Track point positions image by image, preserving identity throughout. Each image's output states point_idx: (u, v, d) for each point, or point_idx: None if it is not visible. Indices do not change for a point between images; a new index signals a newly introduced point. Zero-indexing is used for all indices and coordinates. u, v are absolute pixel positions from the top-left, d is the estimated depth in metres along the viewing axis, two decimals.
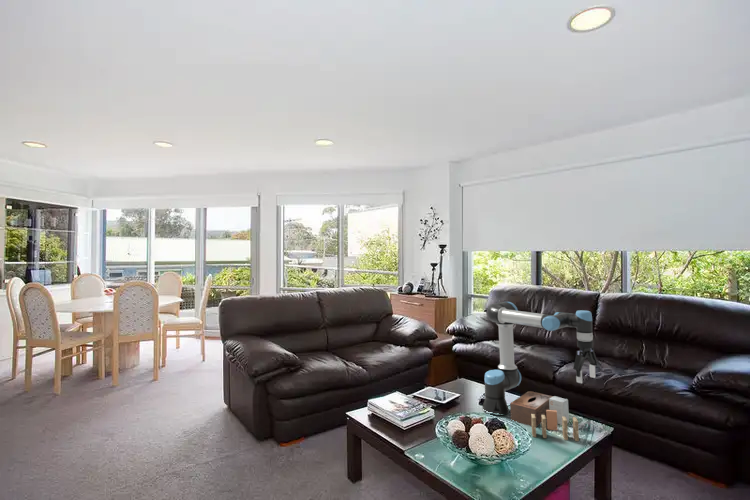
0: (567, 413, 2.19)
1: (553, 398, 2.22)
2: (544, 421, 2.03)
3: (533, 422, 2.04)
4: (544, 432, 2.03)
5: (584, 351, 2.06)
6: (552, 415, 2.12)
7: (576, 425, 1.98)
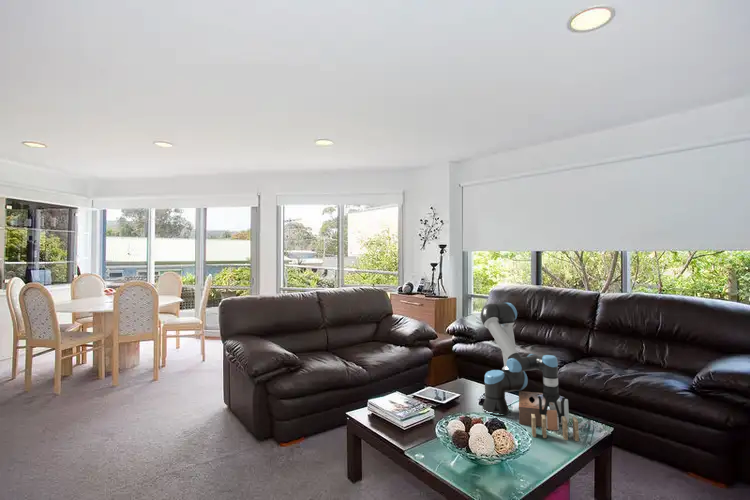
0: (567, 413, 2.19)
1: None
2: (544, 421, 2.03)
3: (533, 422, 2.04)
4: (544, 432, 2.03)
5: (545, 394, 2.12)
6: (552, 415, 2.12)
7: (576, 425, 1.98)
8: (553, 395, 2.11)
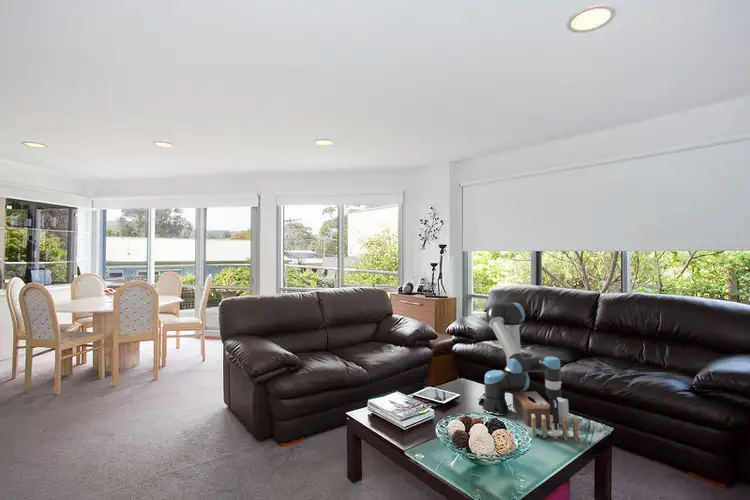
0: (567, 413, 2.19)
1: None
2: (544, 421, 2.03)
3: (533, 422, 2.04)
4: (544, 432, 2.03)
5: (556, 400, 2.01)
6: None
7: (576, 425, 1.98)
8: None
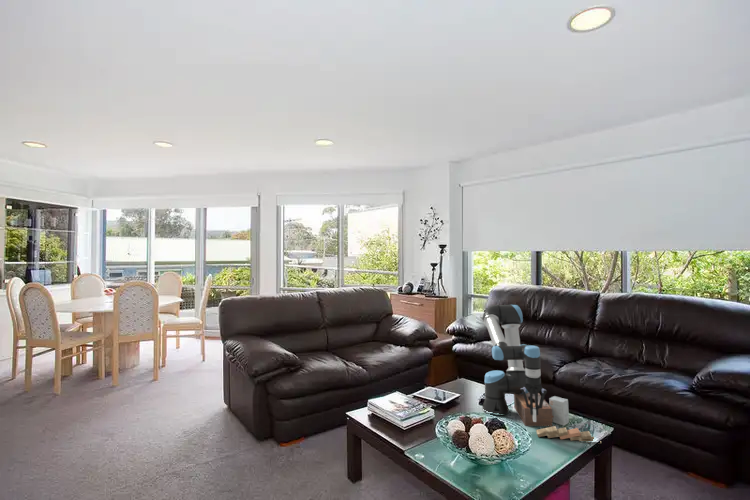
0: (567, 413, 2.19)
1: (553, 398, 2.22)
2: (564, 433, 2.00)
3: (552, 432, 2.02)
4: (553, 435, 2.01)
5: (527, 386, 2.06)
6: None
7: None
8: (536, 386, 2.05)
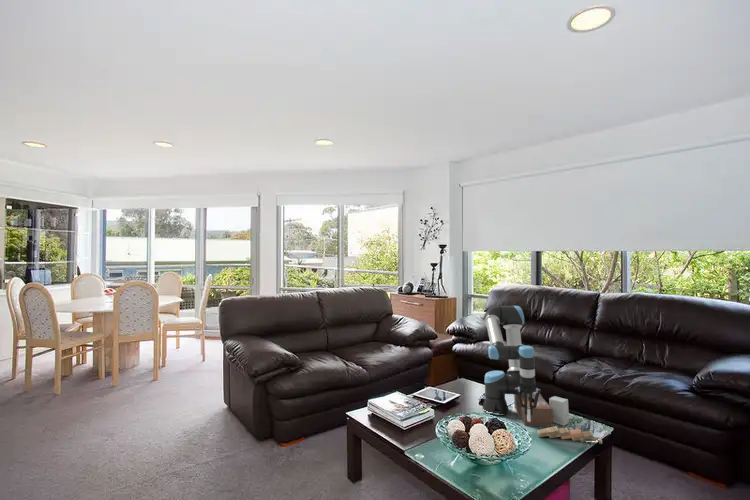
0: (567, 413, 2.19)
1: (553, 398, 2.22)
2: (566, 433, 2.00)
3: (553, 432, 2.01)
4: (554, 435, 2.01)
5: (521, 386, 2.07)
6: None
7: None
8: (530, 385, 2.06)
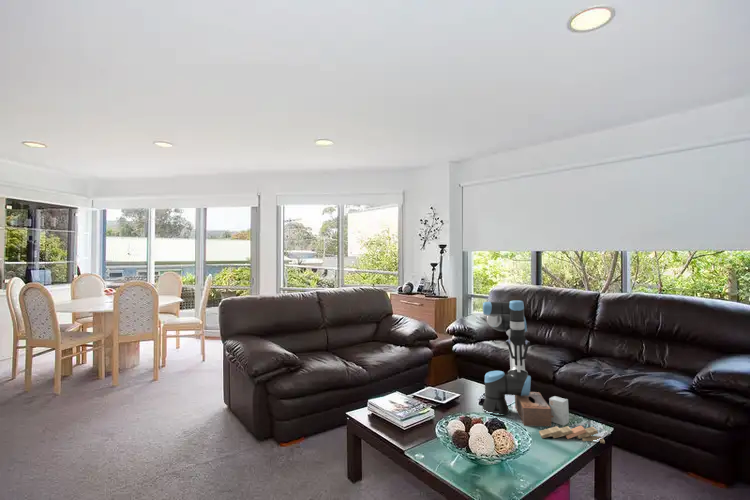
0: (567, 413, 2.19)
1: (553, 398, 2.22)
2: (569, 432, 2.01)
3: (556, 432, 2.01)
4: (558, 435, 2.01)
5: (511, 338, 2.17)
6: None
7: (600, 442, 1.96)
8: (520, 337, 2.16)
